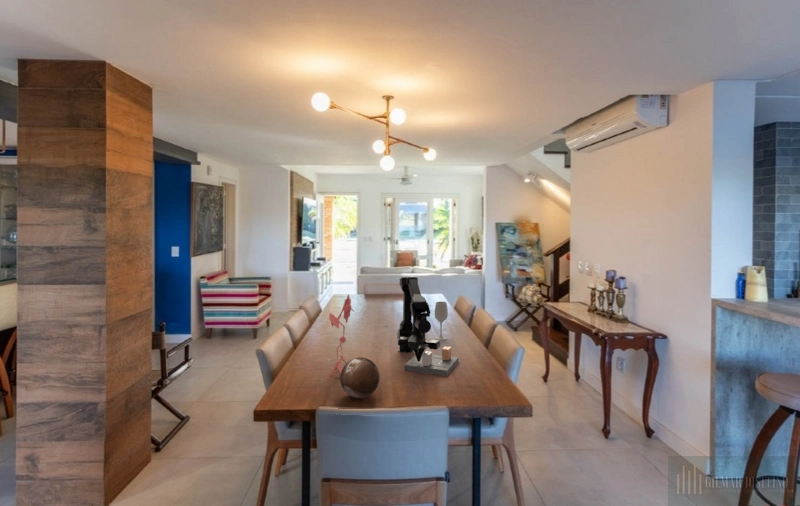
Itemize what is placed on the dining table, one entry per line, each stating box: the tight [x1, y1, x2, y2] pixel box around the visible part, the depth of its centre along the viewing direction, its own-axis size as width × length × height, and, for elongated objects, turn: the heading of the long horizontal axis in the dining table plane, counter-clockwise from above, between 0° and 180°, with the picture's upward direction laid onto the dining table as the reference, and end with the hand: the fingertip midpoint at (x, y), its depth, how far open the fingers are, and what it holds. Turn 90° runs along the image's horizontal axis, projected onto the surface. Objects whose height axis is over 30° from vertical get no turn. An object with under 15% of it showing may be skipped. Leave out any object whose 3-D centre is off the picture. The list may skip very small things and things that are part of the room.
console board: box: [403, 353, 460, 377], centre depth 202 cm, size 20×20×3 cm
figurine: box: [327, 293, 355, 381], centre depth 192 cm, size 15×26×35 cm, turn 175°
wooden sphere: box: [339, 356, 381, 399], centre depth 166 cm, size 15×15×15 cm
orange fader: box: [441, 345, 452, 360], centre depth 204 cm, size 3×5×5 cm, turn 158°
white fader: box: [422, 350, 433, 366], centre depth 196 cm, size 3×5×5 cm, turn 158°
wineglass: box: [434, 301, 449, 341], centre depth 249 cm, size 8×8×21 cm
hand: (418, 361), depth 198 cm, fingers closed
